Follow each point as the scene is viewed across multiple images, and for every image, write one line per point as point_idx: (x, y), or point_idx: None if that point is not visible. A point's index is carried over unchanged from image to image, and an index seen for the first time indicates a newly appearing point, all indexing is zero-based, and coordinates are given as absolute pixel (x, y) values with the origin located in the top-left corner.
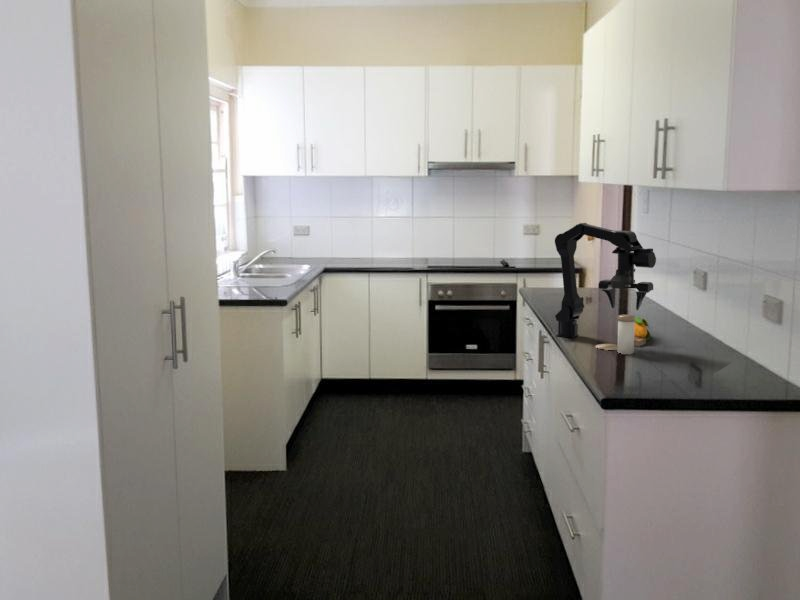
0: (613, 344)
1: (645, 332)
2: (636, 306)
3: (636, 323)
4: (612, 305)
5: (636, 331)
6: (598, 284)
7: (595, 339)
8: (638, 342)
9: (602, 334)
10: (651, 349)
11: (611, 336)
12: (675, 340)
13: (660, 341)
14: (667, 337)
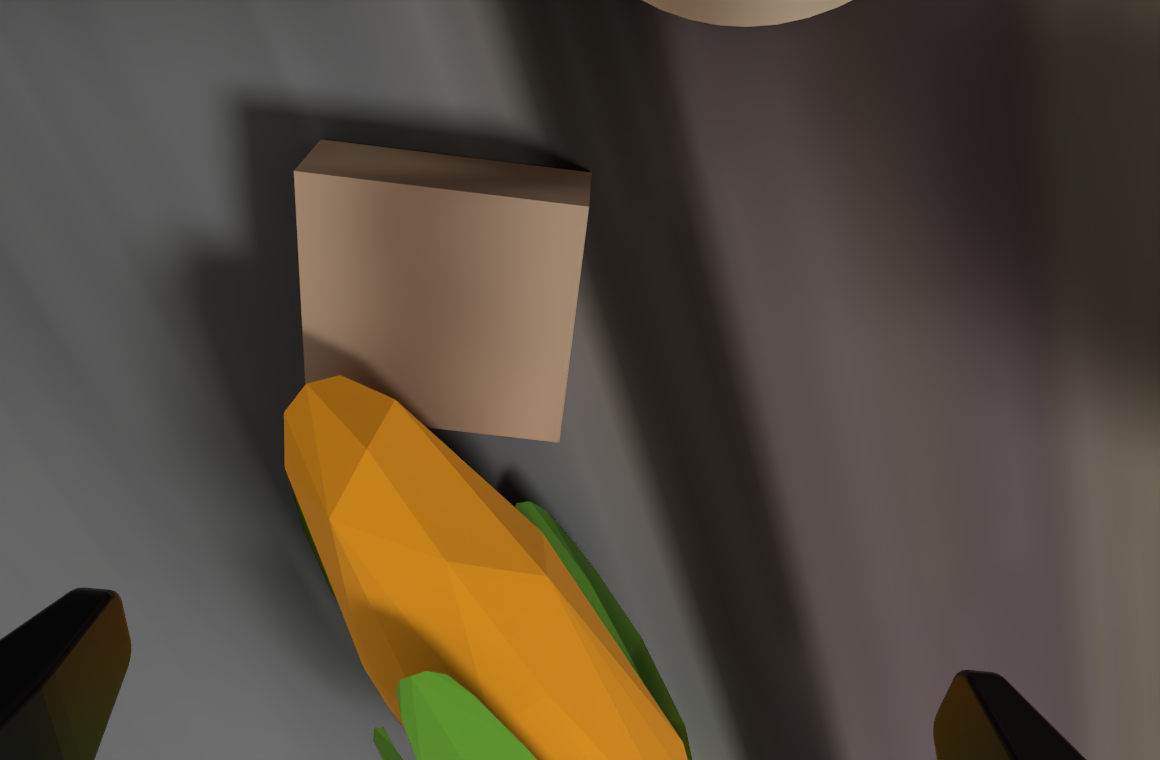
0: (718, 2)
1: (289, 475)
2: (32, 677)
3: (521, 731)
4: (1020, 734)
5: (453, 503)
6: None
7: (1078, 349)
8: (314, 163)
9: (1003, 641)
10: (57, 14)
11: (874, 586)
12: None
13: (234, 551)
14: (271, 734)
